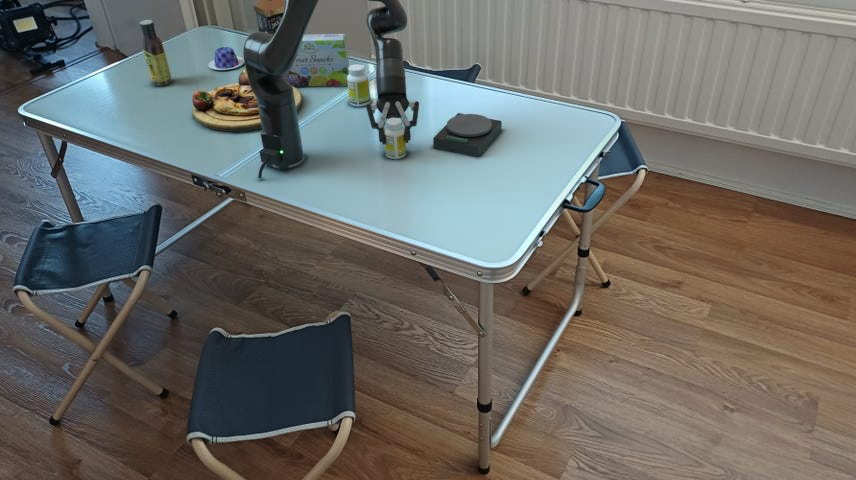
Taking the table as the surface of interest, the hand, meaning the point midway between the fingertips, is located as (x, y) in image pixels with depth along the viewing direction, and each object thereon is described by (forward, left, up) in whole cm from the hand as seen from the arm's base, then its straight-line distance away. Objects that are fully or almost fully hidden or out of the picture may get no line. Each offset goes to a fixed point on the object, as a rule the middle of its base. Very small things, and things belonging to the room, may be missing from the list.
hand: (395, 142), depth 186 cm
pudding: (+35, +83, -5) cm, 90 cm away
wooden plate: (+10, +55, -5) cm, 56 cm away
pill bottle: (+26, +26, -5) cm, 37 cm away
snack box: (+33, +46, -5) cm, 56 cm away
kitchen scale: (+17, -13, -4) cm, 22 cm away
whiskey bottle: (+43, +66, -5) cm, 79 cm away
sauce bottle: (+15, +93, -5) cm, 94 cm away
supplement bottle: (+2, +1, -5) cm, 5 cm away
